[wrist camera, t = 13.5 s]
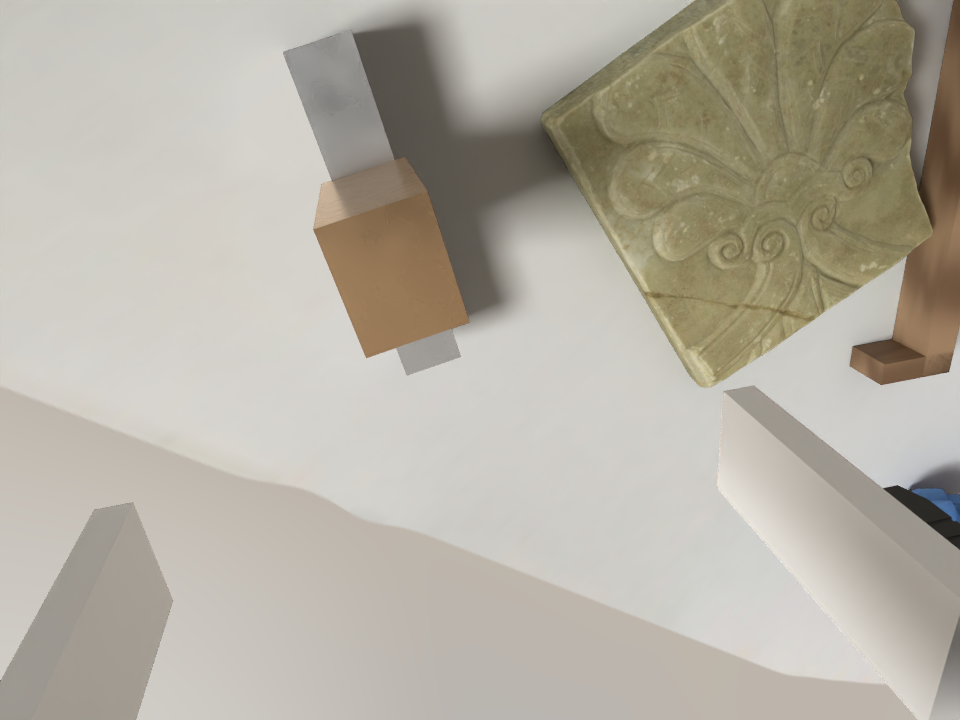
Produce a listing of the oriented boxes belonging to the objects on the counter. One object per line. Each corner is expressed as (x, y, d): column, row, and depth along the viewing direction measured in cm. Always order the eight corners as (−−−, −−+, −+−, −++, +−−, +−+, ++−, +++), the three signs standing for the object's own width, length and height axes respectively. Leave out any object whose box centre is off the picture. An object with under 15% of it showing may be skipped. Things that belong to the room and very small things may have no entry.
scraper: (281, 56, 32) (241, 53, 19) (359, 31, 32) (370, 12, 20) (391, 342, 39) (414, 474, 27) (455, 320, 39) (508, 441, 27)
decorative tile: (685, 377, 45) (711, 402, 41) (530, 118, 36) (549, 124, 33) (928, 212, 43) (975, 224, 40) (828, -103, 34) (878, -120, 31)
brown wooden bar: (921, -98, 34) (970, -112, 32) (1005, -106, 35) (1060, -120, 32) (849, 366, 46) (881, 385, 43) (914, 354, 47) (949, 372, 44)
